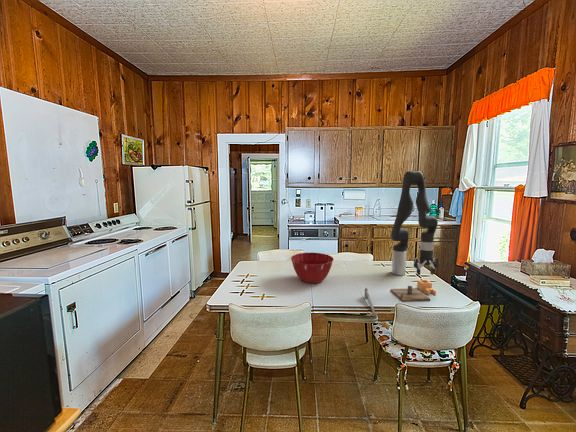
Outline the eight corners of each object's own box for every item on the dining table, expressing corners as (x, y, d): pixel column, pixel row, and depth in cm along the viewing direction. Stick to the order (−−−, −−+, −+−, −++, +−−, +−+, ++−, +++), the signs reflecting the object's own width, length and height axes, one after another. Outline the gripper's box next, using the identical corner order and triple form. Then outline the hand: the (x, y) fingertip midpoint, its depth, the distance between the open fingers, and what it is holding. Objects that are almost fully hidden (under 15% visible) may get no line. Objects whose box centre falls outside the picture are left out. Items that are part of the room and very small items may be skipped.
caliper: (364, 297, 172) (364, 286, 172) (366, 297, 172) (366, 286, 171) (372, 312, 152) (373, 301, 151) (374, 313, 152) (375, 301, 151)
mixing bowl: (331, 289, 184) (332, 265, 182) (286, 285, 190) (287, 262, 188) (334, 274, 211) (334, 253, 210) (294, 272, 217) (294, 251, 215)
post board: (390, 290, 182) (391, 282, 181) (415, 290, 183) (416, 281, 182) (402, 301, 166) (403, 292, 165) (430, 300, 167) (430, 291, 166)
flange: (417, 287, 187) (417, 279, 186) (426, 287, 188) (426, 279, 187) (427, 295, 175) (427, 286, 175) (437, 294, 176) (437, 286, 175)
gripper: (434, 247, 185) (432, 272, 187) (412, 247, 184) (411, 273, 186) (441, 250, 178) (439, 276, 180) (418, 250, 177) (417, 276, 179)
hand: (425, 274), depth 183 cm, fingers open, 8 cm apart
